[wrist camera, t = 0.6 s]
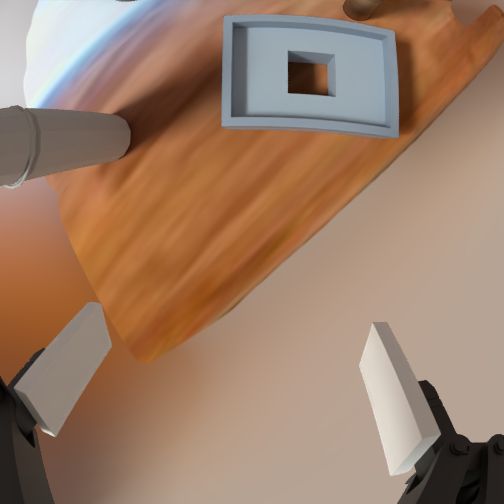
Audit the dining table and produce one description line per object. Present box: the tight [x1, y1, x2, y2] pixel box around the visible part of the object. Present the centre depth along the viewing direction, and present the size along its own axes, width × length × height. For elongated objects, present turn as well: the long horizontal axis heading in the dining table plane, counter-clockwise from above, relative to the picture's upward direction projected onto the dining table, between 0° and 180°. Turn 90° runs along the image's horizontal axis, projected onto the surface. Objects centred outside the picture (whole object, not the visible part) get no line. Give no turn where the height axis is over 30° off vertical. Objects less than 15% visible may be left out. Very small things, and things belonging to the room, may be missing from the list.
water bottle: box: [0, 105, 131, 189], centre depth 25 cm, size 9×8×25 cm
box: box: [222, 15, 399, 139], centre depth 30 cm, size 14×20×7 cm
